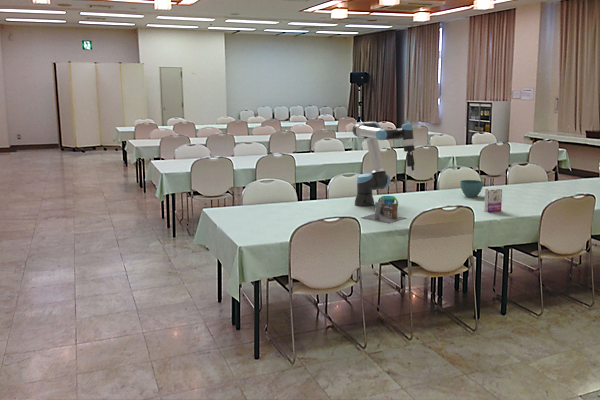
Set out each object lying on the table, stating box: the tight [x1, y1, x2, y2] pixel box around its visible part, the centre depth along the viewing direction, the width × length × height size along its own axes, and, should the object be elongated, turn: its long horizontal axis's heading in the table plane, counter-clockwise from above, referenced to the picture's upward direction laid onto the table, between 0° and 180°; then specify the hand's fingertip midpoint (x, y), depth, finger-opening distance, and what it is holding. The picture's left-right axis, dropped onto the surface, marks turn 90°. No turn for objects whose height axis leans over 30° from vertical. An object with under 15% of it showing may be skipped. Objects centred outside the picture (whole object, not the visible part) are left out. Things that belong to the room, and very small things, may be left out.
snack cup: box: [377, 195, 399, 212], centre depth 421 cm, size 16×10×10 cm
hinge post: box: [379, 197, 384, 215], centre depth 406 cm, size 5×5×12 cm
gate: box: [383, 202, 398, 219], centre depth 398 cm, size 14×2×10 cm, turn 28°
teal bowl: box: [459, 179, 484, 198], centre depth 470 cm, size 18×18×12 cm
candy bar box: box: [484, 187, 503, 213], centre depth 415 cm, size 11×5×16 cm, turn 105°
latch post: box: [374, 201, 380, 220], centre depth 391 cm, size 5×3×12 cm, turn 172°
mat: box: [360, 213, 407, 224], centre depth 398 cm, size 24×20×1 cm
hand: (411, 175), depth 408 cm, fingers open, 13 cm apart
